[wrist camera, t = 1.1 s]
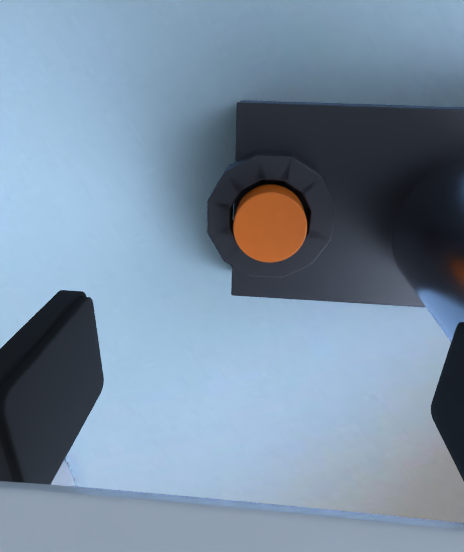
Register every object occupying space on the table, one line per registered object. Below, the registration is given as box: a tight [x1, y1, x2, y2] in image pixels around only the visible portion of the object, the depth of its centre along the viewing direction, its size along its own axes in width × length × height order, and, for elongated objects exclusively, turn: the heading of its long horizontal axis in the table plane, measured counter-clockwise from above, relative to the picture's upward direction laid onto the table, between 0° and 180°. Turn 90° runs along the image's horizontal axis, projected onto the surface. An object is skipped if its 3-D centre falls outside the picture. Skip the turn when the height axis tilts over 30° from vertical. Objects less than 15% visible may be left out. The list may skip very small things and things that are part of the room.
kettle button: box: [233, 184, 307, 262], centre depth 20 cm, size 4×4×2 cm
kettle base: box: [207, 100, 464, 307], centre depth 22 cm, size 17×11×5 cm, turn 89°
